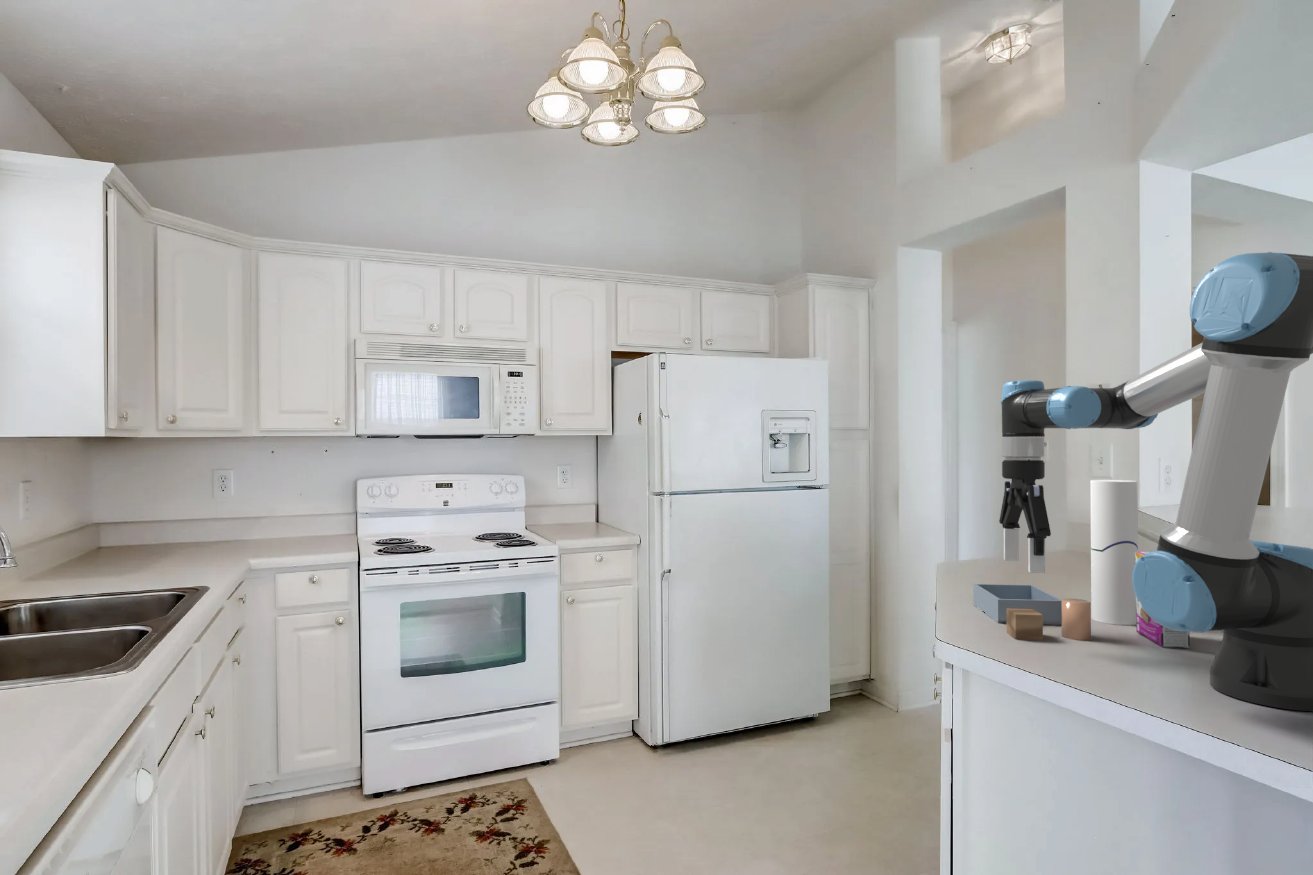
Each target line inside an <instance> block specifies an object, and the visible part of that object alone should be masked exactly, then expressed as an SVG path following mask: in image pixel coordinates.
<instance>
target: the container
mask: <svg viewBox="0 0 1313 875" xmlns="http://www.w3.org/2000/svg"><path fill="white" fill-rule="evenodd" d="M1089 485H1090V486H1089V487H1090V492H1089V493H1090V494H1089V496H1090V497H1089V498H1090V589H1091V591H1090V596H1091V598H1090V600H1091V601H1090V602H1091V620H1093V621H1096V622H1100V623H1103V624H1108V625H1118V626H1136V595H1135V592H1134V589H1133V583H1132V573H1133V569H1134V566H1135V552H1139V530H1138V529H1139V522H1138V521H1139V516H1138V515H1139V513H1138V512H1139V510H1138V505H1139V504H1138V501H1139V500H1138V480H1129V479H1128V480H1126V479H1090V484H1089Z"/></svg>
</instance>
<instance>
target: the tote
mask: <svg viewBox="0 0 1313 875" xmlns="http://www.w3.org/2000/svg"><path fill="white" fill-rule="evenodd" d="M972 586H973V587H972V588H973V605H974V604H975V605H976V606H978V608H980V609H981V610H982V611H984V612H985V613H986V614H987V615H986V614H985V613H984V612H983V613H984V614H985V615H986V616H988V615H989V616H990V617H989V616H988V617H989V618H991V619H992V620H993V619H994V620H993V621H995V622H996V623H997V622H998V623H997V624H1007V608H1008V609H1033V610H1035V611H1037V612H1038V613H1040V614H1042V615H1043V625H1052V626H1056V625H1057V626H1060V625H1061V626H1062V599H1061V598H1059V597H1057V596H1055V595H1053V594H1051V593H1049V592H1047V591H1045V590H1043V589H1041V588H1040V587H1037V586H1036V585H1033V584H1003V583H1002V584H1001V583H998V584H997V583H973V584H972ZM976 606H975V607H976ZM978 608H977V609H978ZM980 609H979V610H980ZM981 610H980V611H981ZM982 611H981V612H982Z"/></svg>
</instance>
